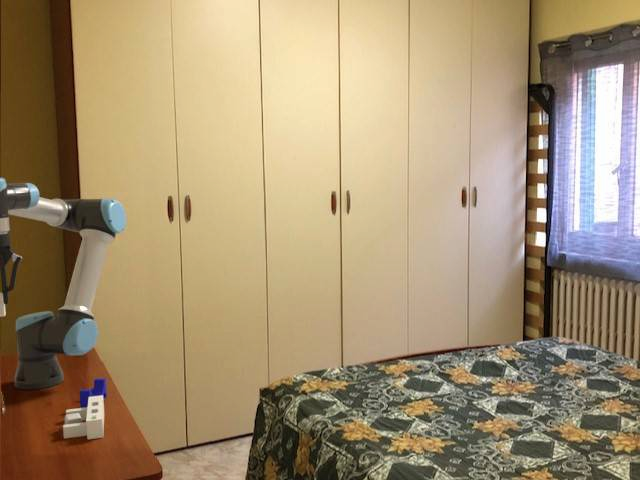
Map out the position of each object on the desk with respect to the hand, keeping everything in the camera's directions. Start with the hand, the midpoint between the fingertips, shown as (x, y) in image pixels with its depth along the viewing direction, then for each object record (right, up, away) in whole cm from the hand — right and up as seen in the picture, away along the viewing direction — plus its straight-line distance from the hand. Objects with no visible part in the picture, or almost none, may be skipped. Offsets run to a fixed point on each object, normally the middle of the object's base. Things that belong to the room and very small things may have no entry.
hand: (2, 315), depth 203 cm
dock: (+27, -30, -7) cm, 40 cm away
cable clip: (+22, -28, +12) cm, 37 cm away
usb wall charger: (+23, -30, -8) cm, 39 cm away
